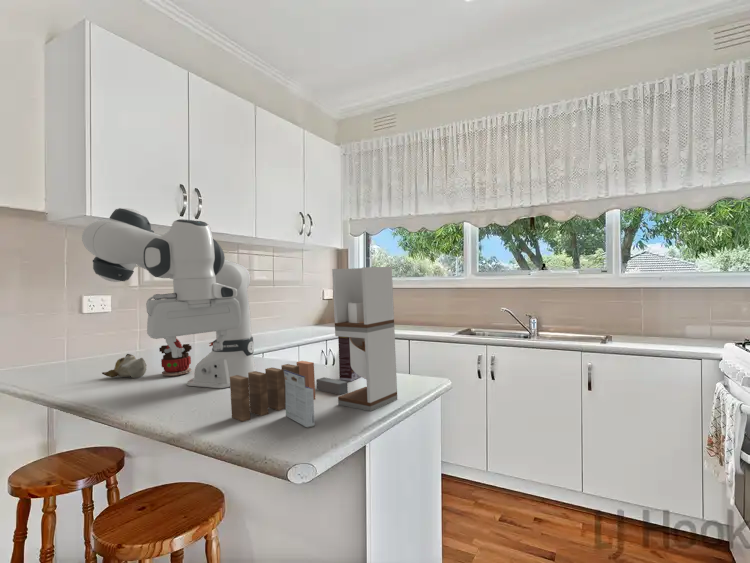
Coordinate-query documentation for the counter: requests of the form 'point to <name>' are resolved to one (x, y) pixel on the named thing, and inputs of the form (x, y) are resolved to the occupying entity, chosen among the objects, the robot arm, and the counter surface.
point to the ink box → (299, 399)
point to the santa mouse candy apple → (176, 360)
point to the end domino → (307, 374)
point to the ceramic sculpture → (128, 367)
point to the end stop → (332, 385)
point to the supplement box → (345, 360)
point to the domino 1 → (240, 398)
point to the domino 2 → (258, 393)
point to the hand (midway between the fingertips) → (198, 353)
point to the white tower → (367, 332)
